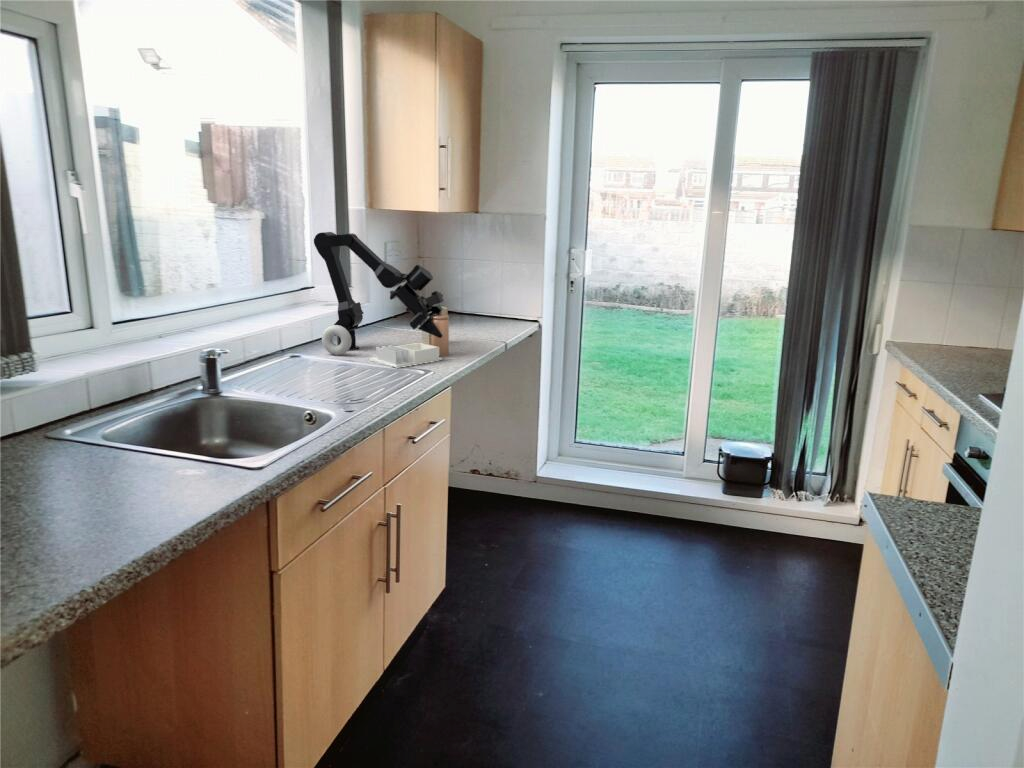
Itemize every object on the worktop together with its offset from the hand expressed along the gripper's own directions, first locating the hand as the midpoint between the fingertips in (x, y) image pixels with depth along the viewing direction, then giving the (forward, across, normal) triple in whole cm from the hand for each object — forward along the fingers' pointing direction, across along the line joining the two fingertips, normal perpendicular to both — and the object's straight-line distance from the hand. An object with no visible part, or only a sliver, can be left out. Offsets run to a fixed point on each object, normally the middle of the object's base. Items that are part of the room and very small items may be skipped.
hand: (444, 335), depth 235 cm
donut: (-19, -10, +28) cm, 35 cm away
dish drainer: (-2, -12, +11) cm, 16 cm away
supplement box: (-1, +17, +11) cm, 20 cm away
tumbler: (+4, 0, +6) cm, 7 cm away
